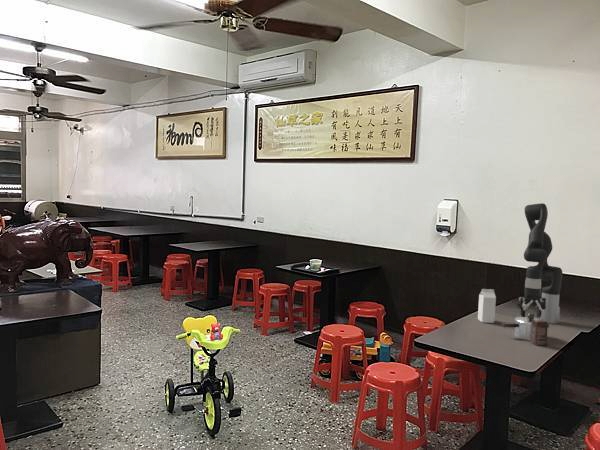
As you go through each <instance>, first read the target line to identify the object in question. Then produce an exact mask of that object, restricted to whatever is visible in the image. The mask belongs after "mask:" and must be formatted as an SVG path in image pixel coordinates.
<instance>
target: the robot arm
mask: <svg viewBox="0 0 600 450" xmlns="http://www.w3.org/2000/svg"><path fill="white" fill-rule="evenodd" d="M524 215H525V218H526V221H527V224H528V228H529V233H528V243H527V246H526V248H525V250H524V253H523V258H524V260H525V261H527V262H529V263H537V264H536V265H530V266H527V267H526V271H525V272H526V273H525V275H526V276H525V280H524V282H525V283H524V292H523V293H524V296H523V297H521V296H519V297H518V298H517V304H516V305H517V306H516V307H517V309H519V310H520V317H526V309H528V308H529V307H535V308H537V310H536V318H538V319H541V320H545V321H547V322H548V324H549V325H550V324H552V325H553V324H554V325H555V324H559V323H560V315H561V307H560V306H559V305H560V293H561V289H562V282H563V269H562V268H561V267H559V266H553V265H549V263H548V258H549V257H550V255H551V254H552V251H553V243H552V238H551V236H550V235H549V234H548V233H547V232H546V231H545V229H546V225H547V221H548V217H549V216H548V215H549V214H548V207H547V204H545V203H541V202H540V203H534V204H527V205H525V206H524ZM536 221H537V222H536ZM542 281H545V282H549V283H551V284H550V285H548V286H544V287H542Z"/></svg>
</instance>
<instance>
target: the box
mask: <svg viewBox="0 0 600 450" xmlns="http://www.w3.org/2000/svg"><path fill="white" fill-rule="evenodd" d="M548 324H549V323H548V322H547V321H545V320H532V336H531V342H530V343H531V345H532V344H533V345H534V346H547V344H548V328H549V327H548Z"/></svg>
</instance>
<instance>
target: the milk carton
mask: <svg viewBox="0 0 600 450" xmlns="http://www.w3.org/2000/svg"><path fill="white" fill-rule="evenodd" d="M496 302H497V296H496V293H495V289H491V288H489V289H487V288H482V289H481V291H480V293H479V295H478V308H477V310H478V311H477V320H478V321H480V322H481V323H486V324H487V323H488V324H489V323H490V324H495V316H496V315H495V314H496Z"/></svg>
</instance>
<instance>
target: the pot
mask: <svg viewBox="0 0 600 450" xmlns="http://www.w3.org/2000/svg"><path fill="white" fill-rule="evenodd" d="M501 327H503V328H514V337H515V338H516V337H517V338H518V339H521V340H525V341H531V336H532V326H531V325H525V324H521V323H518V322H516V321H515V322H501ZM549 327H550V323H548V328H549Z"/></svg>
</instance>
